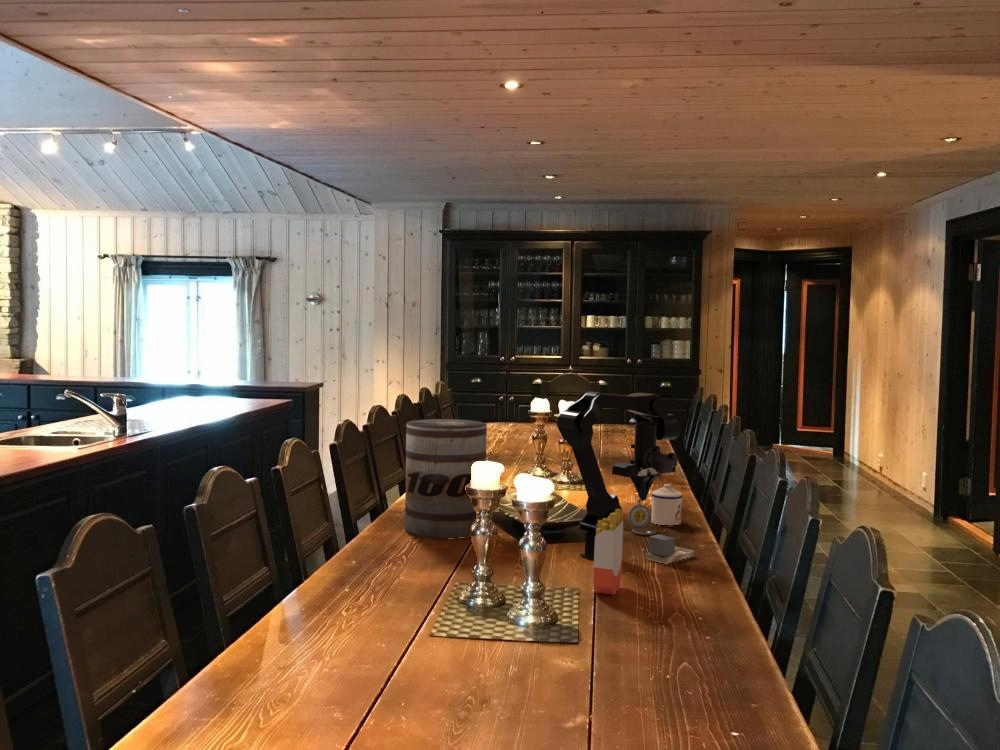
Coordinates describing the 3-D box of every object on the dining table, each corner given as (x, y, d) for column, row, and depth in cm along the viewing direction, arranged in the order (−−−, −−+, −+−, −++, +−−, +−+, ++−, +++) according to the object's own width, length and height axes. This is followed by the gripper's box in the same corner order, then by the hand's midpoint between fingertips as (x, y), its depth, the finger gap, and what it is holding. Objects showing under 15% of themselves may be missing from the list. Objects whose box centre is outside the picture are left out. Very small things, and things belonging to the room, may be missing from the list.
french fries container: (591, 596, 191) (593, 514, 190) (601, 582, 201) (603, 504, 200) (612, 598, 190) (614, 516, 188) (621, 584, 200) (623, 506, 199)
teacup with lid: (682, 527, 257) (683, 488, 256) (650, 525, 258) (651, 486, 258) (680, 518, 269) (682, 480, 268) (650, 516, 270) (651, 479, 270)
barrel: (423, 542, 234) (425, 430, 232) (392, 524, 253) (394, 420, 252) (498, 534, 244) (501, 426, 242) (463, 517, 264) (465, 418, 262)
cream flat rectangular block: (664, 564, 217) (665, 558, 217) (645, 559, 222) (645, 553, 221) (694, 556, 225) (694, 550, 225) (675, 551, 229) (675, 545, 229)
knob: (664, 556, 218) (665, 540, 217) (648, 552, 221) (649, 536, 221) (674, 553, 220) (675, 538, 220) (658, 549, 224) (659, 534, 224)
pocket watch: (649, 537, 244) (650, 501, 244) (622, 532, 250) (623, 497, 249) (662, 532, 251) (664, 497, 250) (636, 527, 256) (637, 493, 255)
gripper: (644, 447, 218) (641, 509, 219) (692, 442, 230) (690, 502, 231) (611, 441, 227) (609, 501, 228) (660, 437, 239) (658, 495, 240)
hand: (643, 500), depth 231 cm, fingers closed
